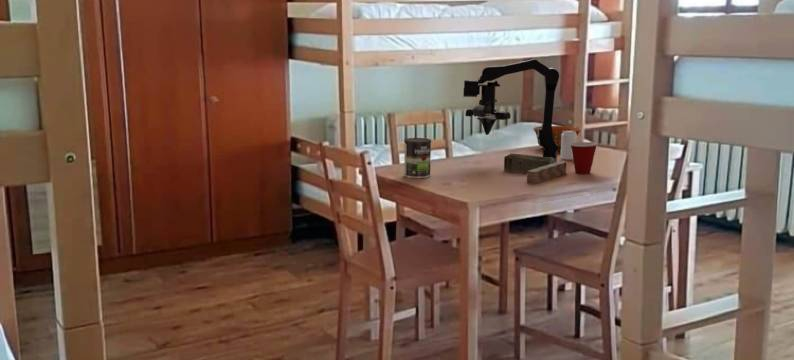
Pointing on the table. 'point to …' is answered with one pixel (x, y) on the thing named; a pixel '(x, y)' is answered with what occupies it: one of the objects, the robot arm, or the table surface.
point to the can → (567, 144)
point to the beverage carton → (525, 162)
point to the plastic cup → (583, 156)
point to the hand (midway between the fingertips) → (487, 134)
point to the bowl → (558, 133)
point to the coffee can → (417, 157)
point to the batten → (546, 172)
